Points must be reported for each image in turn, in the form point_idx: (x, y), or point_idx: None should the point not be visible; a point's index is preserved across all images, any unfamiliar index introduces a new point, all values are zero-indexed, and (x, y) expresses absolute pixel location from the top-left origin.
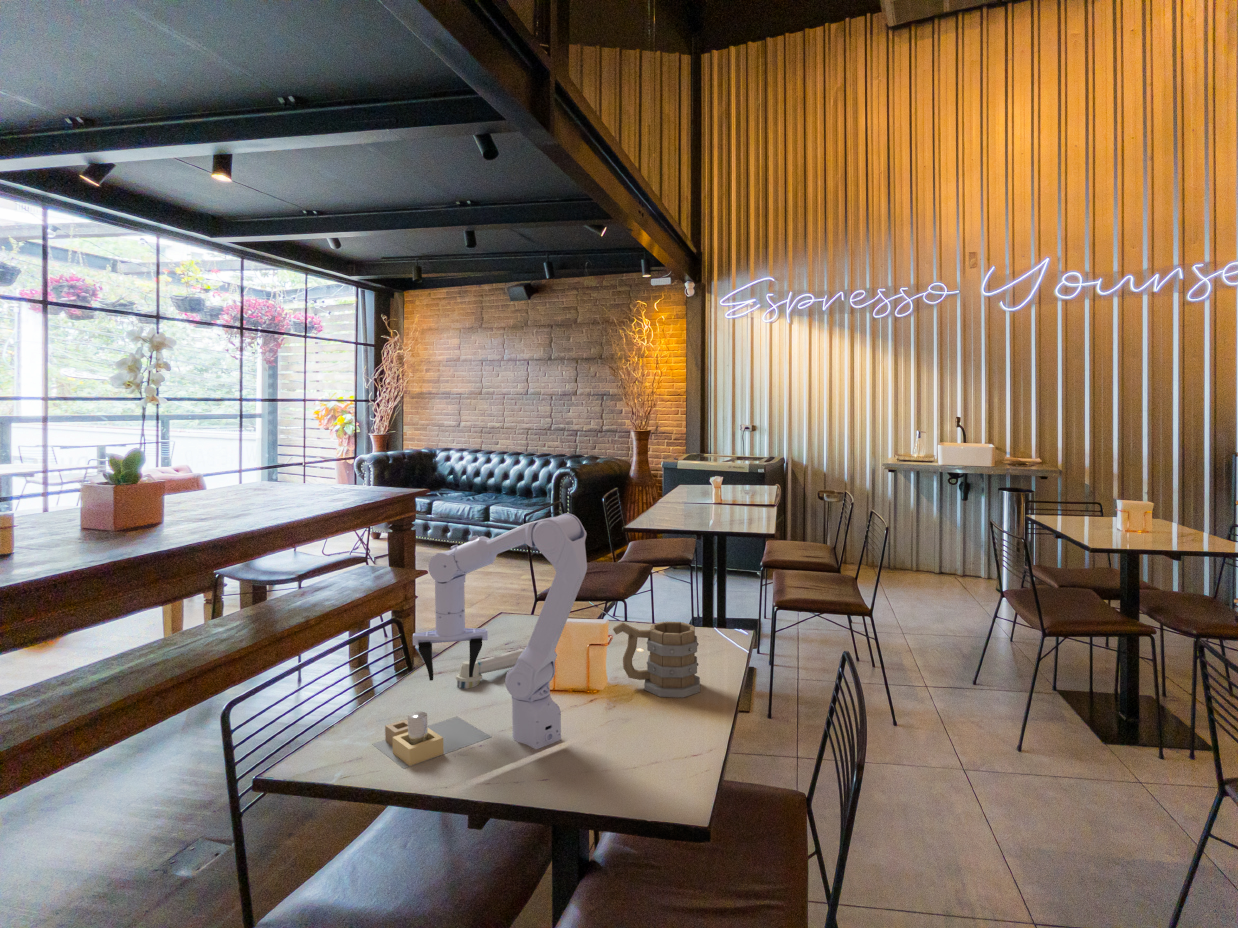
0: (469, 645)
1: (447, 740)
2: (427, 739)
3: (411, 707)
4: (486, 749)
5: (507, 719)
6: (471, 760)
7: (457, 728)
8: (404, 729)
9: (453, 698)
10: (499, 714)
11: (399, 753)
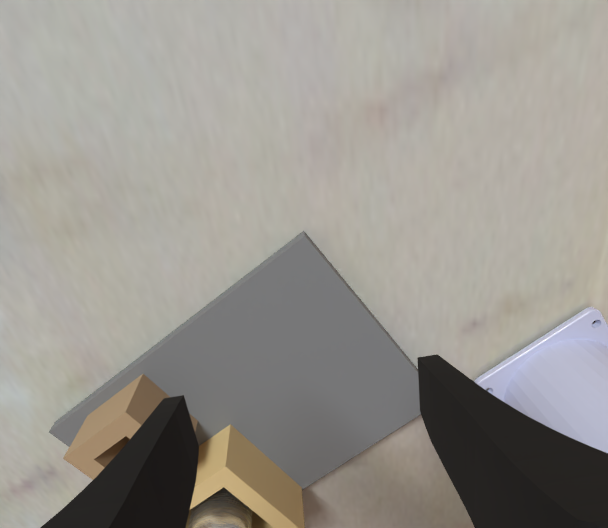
0: (532, 505)
1: (299, 417)
2: (251, 517)
3: (50, 64)
4: (418, 437)
5: (500, 239)
6: (378, 487)
7: (321, 340)
8: None
9: None
10: (473, 189)
11: None
